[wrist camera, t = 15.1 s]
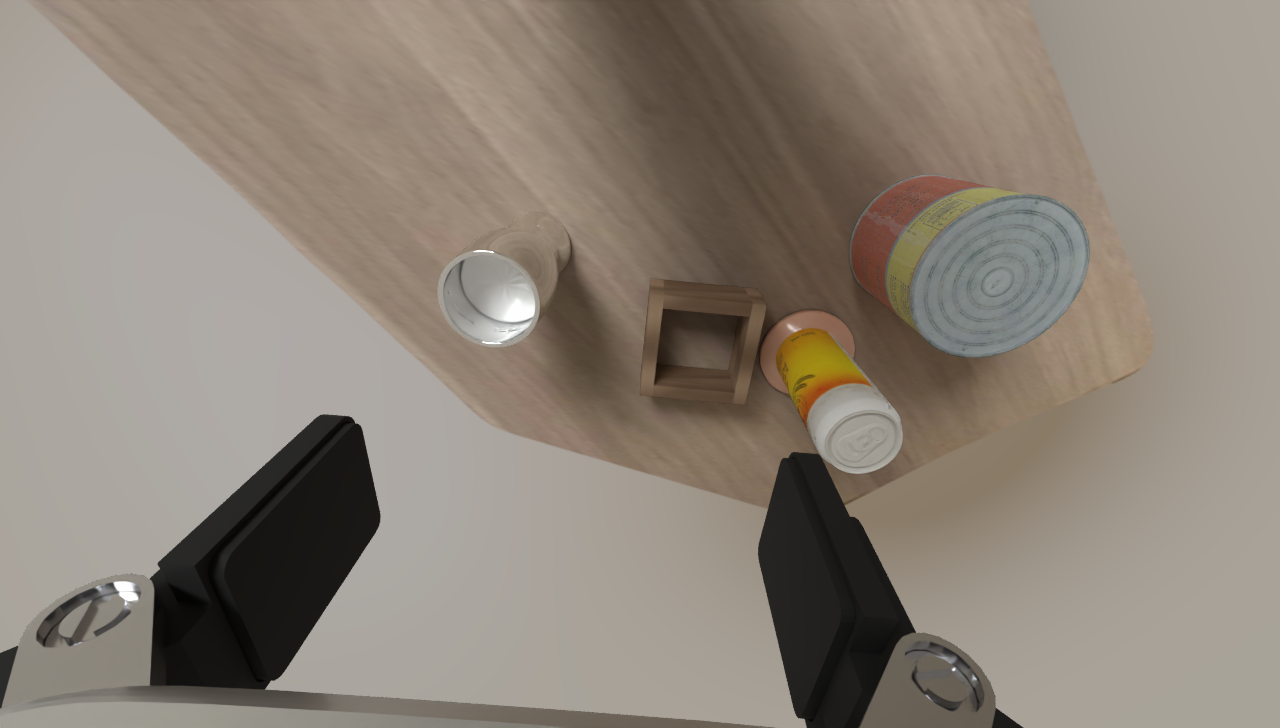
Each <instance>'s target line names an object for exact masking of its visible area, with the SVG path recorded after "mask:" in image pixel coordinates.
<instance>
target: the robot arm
mask: <svg viewBox="0 0 1280 728" xmlns="http://www.w3.org/2000/svg"><path fill="white" fill-rule="evenodd" d="M379 523H380V511H379V506H378V501H377V496H376V492H375V487H374V482H373V478H372V473H371V468H370V464H369V459H368V454H367V450H366V445H365V440H364V436H363V431H362V428H361V426H360V425H359V424H355V422H354V420H353V419H352V418H351V417H349V416H338V415H320V416H318V417H317V418H316V419H314V420H313V421H312V422H311V423H310V424H309V425H308V426H307V427H306V428H305V429H304V430H302V432H300V433H299V434H298V435H297V436H296V437H295V438H294V439H293V440H292V441H291V442H289V443H288V444H287V445H286V446H285V447H284V448H283V449H282V450H281V451H279V452H278V453H277V454H276V455H275V456H274V457H273V458H272V459H271V460H270V461H269V462H267V463H266V464H265V465H264V466H263V467H262V468H261V469H260V470H259V471H258V472H257V473H256V474H254V475H253V476H252V477H251V478H250V479H249V480H248V481H247V482H246V483H244V485H242V486H241V487H240V488H239V489H238V490H237V491H236V492H235V493H234V494H232V495H231V496H230V497H229V498H228V499H227V500H226V501H225V502H224V503H223V504H222V505H220V506H219V507H218V508H217V509H216V510H215V511H214V512H213V513H212V514H211V515H209V516H208V517H207V518H206V519H205V520H204V521H203V522H202V523H201V524H200V525H199V526H197V527H196V528H195V529H194V530H193V531H192V532H191V533H190V534H189V535H188V536H187V537H185V539H183V540H182V541H181V542H180V543H179V544H178V545H177V546H176V547H175V548H173V549H172V550H171V551H170V552H169V553H168V554H167V555H166V556H165V557H164V558H163V559H161V561H159V562H158V566H159V567H160V570H159V571H158V572H156V573H155V574H154V575H153V576H152V577H151V578H150V579H148V578H147V577H145V576H144V575H138V574H121V575H114V576H110V577H106V578H103V579H99V580H96V581H93V582H91V583H88V584H86V585H84V586H81V587H79V588H76V589H75V590H73V591H71V592H69V593H68V594H66V595H64V596H62V597H61V598H59V599H57V600H56V601H54V602H53V603H52V604H50V605H49V606H48V607H46V608H45V609H44V610H42V611H41V612H40V613H39V614H38V615H37V616H36V617H35V618H34V619H33V620H32V621H31V623H30V624H29V625H28V626H27V627H26V629H25V631H24V633H23V635H22V637H21V639H20V643H19V646H16V647H14V648H11V649H9V650H7V651H4V652H2V653H0V728H773V727H762V726H751V725H741V724H731V723H720V722H709V721H698V720H685V719H672V718H659V717H645V716H633V715H620V714H607V713H594V712H581V711H568V710H554V709H540V708H525V707H513V706H498V705H485V704H471V703H457V702H443V701H428V700H414V699H400V698H384V697H369V696H353V695H338V694H324V693H307V692H292V691H278V690H265V688H266V687H267V686H268V684H269V683H270V681H271V680H273V681H274V680H276V679H278V678H279V677H280V676H281V675H282V674H283V672H284V671H285V670H286V668H287V667H288V665H289V664H290V662H291V661H292V659H293V658H294V656H295V655H296V653H297V652H298V650H299V649H300V647H301V645H302V644H303V642H304V641H305V639H306V638H307V636H308V635H309V633H310V632H311V630H312V629H313V627H314V626H315V624H316V622H317V621H318V619H319V618H320V616H321V615H322V613H323V612H324V610H325V609H326V607H327V606H328V604H329V603H330V601H331V600H332V598H333V597H334V595H335V594H336V592H337V590H338V589H339V587H340V586H341V585H342V583H343V581H344V580H345V578H346V577H347V575H348V574H349V572H350V571H351V569H352V568H353V566H354V565H355V563H356V562H357V560H358V559H359V557H360V556H361V554H362V552H363V551H364V549H365V548H366V546H367V545H368V543H369V542H370V540H371V539H372V537H373V536H374V534H375V533H376V530H377V529H378V527H379ZM758 557H759V563H760V567H761V571H762V575H763V580H764V584H765V588H766V593H767V597H768V601H769V605H770V610H771V614H772V618H773V622H774V627H775V631H776V635H777V639H778V644H779V648H780V652H781V656H782V661H783V665H784V669H785V673H786V678H787V682H788V686H789V690H790V695H791V699H792V703H793V708H794V711H795V714H796V716H797V717H798V718H802V719H805V722H806V726H807V728H1023V727H1022V726H1020V725H1019V724H1017V723H1016V722H1015V721H1013V720H1012V719H1010V718H1009V717H1008V716H1006V715H1005V714H1004V713H1002V712H1000V711H999V710H998V709H997V708H996V707H995V706H996V705H995V704H996V703H995V694H994V691H993V689H992V686H991V683H990V681H989V680H988V679H987V677H986V676H985V674H984V672H983V671H982V669H981V668H980V667H979V666H978V665H977V664H976V663H975V661H974V660H973V659H972V658H971V657H970V656H969V655H968V654H966V653H965V652H963V651H962V650H961V649H959V648H958V647H957V646H955V645H954V644H952V643H950V642H948V641H946V640H944V639H942V638H940V637H938V636H934V635H931V634H927V633H916V631H915V629H914V628H913V625H912V624H911V622H910V620H909V618H908V616H907V614H906V612H905V610H904V608H903V606H902V604H901V602H900V600H899V598H898V596H897V594H896V592H895V590H894V588H893V586H892V584H891V582H890V580H889V578H888V576H887V574H886V572H885V570H884V568H883V566H882V564H881V562H880V560H879V558H878V556H877V554H876V552H875V550H874V548H873V546H872V544H871V542H870V540H869V538H868V536H867V534H866V532H865V530H864V528H863V526H862V525H861V523H860V522H859V520H858V519H856V518H855V517H850V516H849V514H848V512H847V510H846V508H845V506H844V504H843V502H842V499H841V497H840V495H839V493H838V491H837V489H836V487H835V485H834V483H833V481H832V479H831V477H830V475H829V473H828V471H827V468H826V466H825V464H824V462H823V460H822V458H821V457H820V455H818V454H810V453H798V452H793V453H791V455H790V456H789V458H783V459H782V460H781V463H780V466H779V470H778V474H777V478H776V481H775V485H774V489H773V493H772V496H771V500H770V504H769V508H768V512H767V516H766V519H765V523H764V527H763V530H762V534H761V538H760V542H759V547H758Z"/></svg>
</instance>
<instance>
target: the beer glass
mask: <svg viewBox="0 0 1280 728" xmlns="http://www.w3.org/2000/svg"><path fill="white" fill-rule="evenodd" d="M570 254H571V244H570V239H569V236H568V234H567V232H566V230H565V229H564V227H563V226H562V225H561V224H560V223H559V222H558V221H557V220H556V219H554V218H553V217H551V216H549V215H547V214H544V213H539V212H529V213H525V214H522V215H520V216H518V217H517V218H515V219H514V220H513V221H512V222H511V223H510V224H509V226H508V227H507V228H501V229H497V230H494V231H490V232H488V233H486V234H484V235H482V236H480V237H478V238H477V239H475V240H474V241H472V242H471V243H470V244H469V245H467V246H466V247H465V248H464V249H463V250H462V251H461V252H460V253H459V254H458V255H457V256H456V257H455V258H454V259H453V260H452V261H450V262H449V263H448V265H447V266H446V267H445V268H444V270H443V272H442V274H441V276H440V279H439V283H438V301H439V305H440V308H441V311H442V313H443V315H444V317H445V319H446V320H447V322H448V323H449V324H450V326H451V327H452V328H453V329H454V330H455V331H456V332H457V333H458V334H460V335H461V336H462V337H464V338H465V339H467V340H469V341H471V342H473V343H475V344H478V345H481V346H486V347H495V348H497V347H506V346H510V345H513V344H516V343H518V342H520V341H521V340H523V339H524V338H526V337H527V336H528V335H529V334H530V333H531V331H532V330H533V329H534V327H535V326H536V325H537V323H538V322H539V321H540V320H541V319H542V317H543V316H544V314H545V313H546V311H547V310H548V308H549V307H550V305H551V303H552V300H553V298H554V296H555V293H556V289H557V284H558V274H559V273H560V272H561V271H562V270H563V269H564V268H565V267H566V265H567V263H568V261H569V258H570Z"/></svg>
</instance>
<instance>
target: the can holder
mask: <svg viewBox="0 0 1280 728" xmlns="http://www.w3.org/2000/svg"><path fill="white" fill-rule="evenodd" d="M766 307H767V304H766V303H765V301H764V299H763V298H762V296H761V294H760V293H759V291H758V289H755V288H744V287H734V286H723V285H713V284H702V283H692V282H682V281H671V280H661V279H651V280H650V289H649V299H648V308H647V318H646V328H645V337H644V347H643V357H642V366H641V379H640V395H641V396H652V397H662V398H673V399H684V400H695V401H706V402H717V403H728V404H739V405H745V403H746V399H747V394H748V390H749V385H750V380H751V376H752V371H753V367H754V362H755V358H756V353H757V348H758V344H759V339H760V335H761V330H762V326H763V321H764V316H765V312H766ZM663 309H671V310H682V311H692V312H703V313H714V314H724V315H735V316H739V318H738V323H737V328H736V333H735V339H734V344H733V349H732V354H731V359H730V364H729V370H728V371H726V370H715V369H704V368H693V367H683V366H672V365H661V364H656V361H657V353H658V345H659V336H660V328H661V319H662V311H663Z"/></svg>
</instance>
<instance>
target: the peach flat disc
mask: <svg viewBox="0 0 1280 728" xmlns="http://www.w3.org/2000/svg"><path fill="white" fill-rule="evenodd" d="M806 328H819V329H823V330H825V331H827V332H829V333H831V334H832V335H833V336H834V337H835V338H836V339H837V341H838V342H839V343H840V344H841V345H842V347H843V348H844V349H845V350H846V351H847V353H848V354H849V355H850V356H851V357H852V359H853V358H854V353H855V344H854V339H853V336H852V334H851V332H850V330H849V329H848V327H847V326H846V325H845V324H844V323H843V322H842V321H841V320H840V319H839V318H837V317H836V316H834V315H833V314H830V313H828V312H825V311H821V310H803V311H798V312H795V313H792V314H790V315H788V316H786V317H784V318H782V319H781V320H779V321H778V322H777V323H775V324H774V325H773V326H772V327H771V328H770V330H769V331H768V332H767V334H766V335H765V337H764V339H763V341H762V344H761V347H760V353H759V360H760V365H761V368H762V371H763V373H764V375H765V377H766V379H767V380H768V382H769V383H770V384H771V385H772V386H774V387H775V388H776V389H778V390H780V391H781V392H784V393H786V394H789V392H788V390H787V388H786V386H785V384H784V382H783V380H782V378H781V376H780V374H779V372H778V369H777V366H776V354H777V351H778V349H779V347H780V345H781V344H782V342H783V341H784V340H785V339H786V338H787V337H788V336H790V335H791V334H793V333H794V332H796V331H799V330H802V329H806Z"/></svg>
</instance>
